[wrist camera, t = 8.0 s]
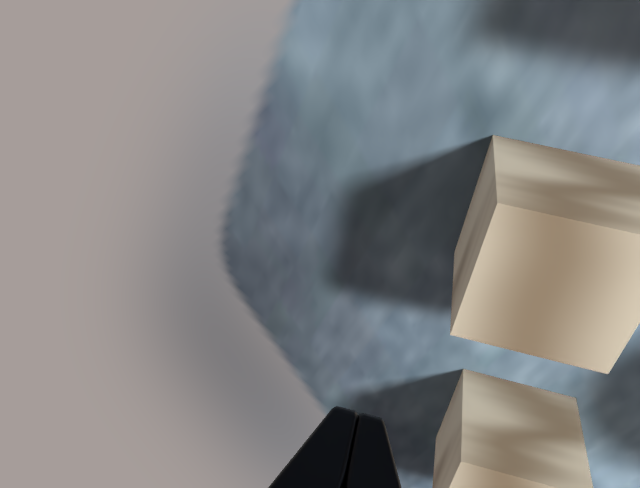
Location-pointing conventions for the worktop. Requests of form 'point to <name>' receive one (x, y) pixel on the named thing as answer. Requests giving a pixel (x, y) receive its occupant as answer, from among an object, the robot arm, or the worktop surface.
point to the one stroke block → (509, 437)
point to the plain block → (550, 255)
